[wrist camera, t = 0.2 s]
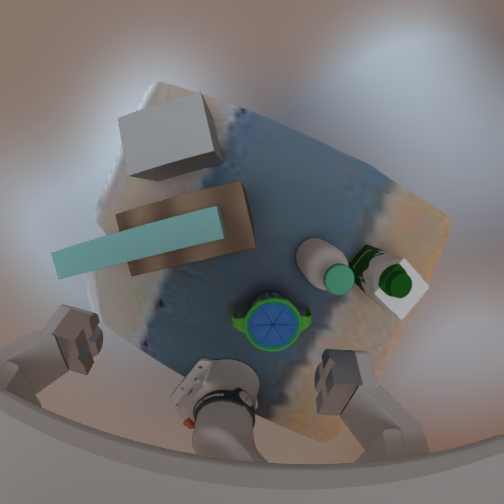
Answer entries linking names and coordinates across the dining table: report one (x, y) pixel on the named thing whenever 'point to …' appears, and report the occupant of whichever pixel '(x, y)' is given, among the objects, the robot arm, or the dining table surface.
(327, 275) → the milk bottle
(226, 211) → the walnut stand
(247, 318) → the snack cup
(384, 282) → the milk carton
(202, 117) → the base block
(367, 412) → the robot arm
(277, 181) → the dining table surface
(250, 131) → the dining table surface
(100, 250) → the batten
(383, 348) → the dining table surface
